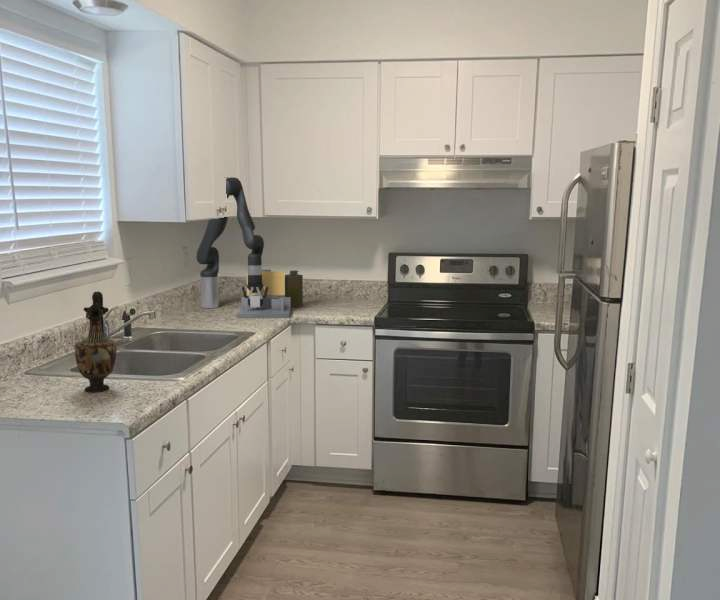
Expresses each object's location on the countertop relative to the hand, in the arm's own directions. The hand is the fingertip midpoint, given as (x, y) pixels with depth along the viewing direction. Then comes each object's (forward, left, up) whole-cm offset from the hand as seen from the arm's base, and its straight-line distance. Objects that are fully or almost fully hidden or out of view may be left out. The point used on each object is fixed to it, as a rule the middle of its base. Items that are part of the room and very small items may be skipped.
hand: (255, 305), depth 318 cm
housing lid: (-7, +5, +11) cm, 14 cm away
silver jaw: (0, 0, 0) cm, 0 cm away
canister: (-24, +19, -4) cm, 31 cm away
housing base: (+3, +5, -4) cm, 7 cm away
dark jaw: (0, +11, -2) cm, 11 cm away
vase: (+130, -36, -4) cm, 135 cm away
